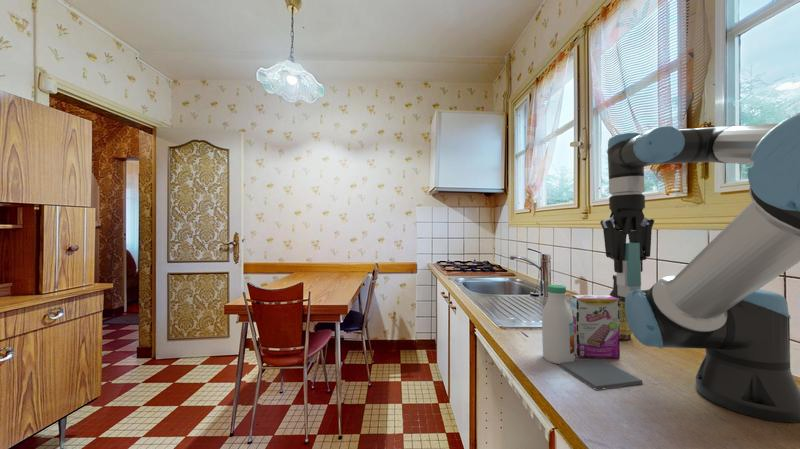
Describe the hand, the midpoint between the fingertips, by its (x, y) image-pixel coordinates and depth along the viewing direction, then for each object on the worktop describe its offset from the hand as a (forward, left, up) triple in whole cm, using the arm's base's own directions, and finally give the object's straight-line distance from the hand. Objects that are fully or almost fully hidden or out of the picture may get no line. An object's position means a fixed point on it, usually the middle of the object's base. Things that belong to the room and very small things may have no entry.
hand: (628, 284), depth 82 cm
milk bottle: (+7, +16, -21) cm, 27 cm away
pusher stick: (0, 0, -3) cm, 3 cm away
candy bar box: (+7, +4, -21) cm, 22 cm away
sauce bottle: (+17, -14, -21) cm, 30 cm away
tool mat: (-3, +12, -21) cm, 24 cm away
